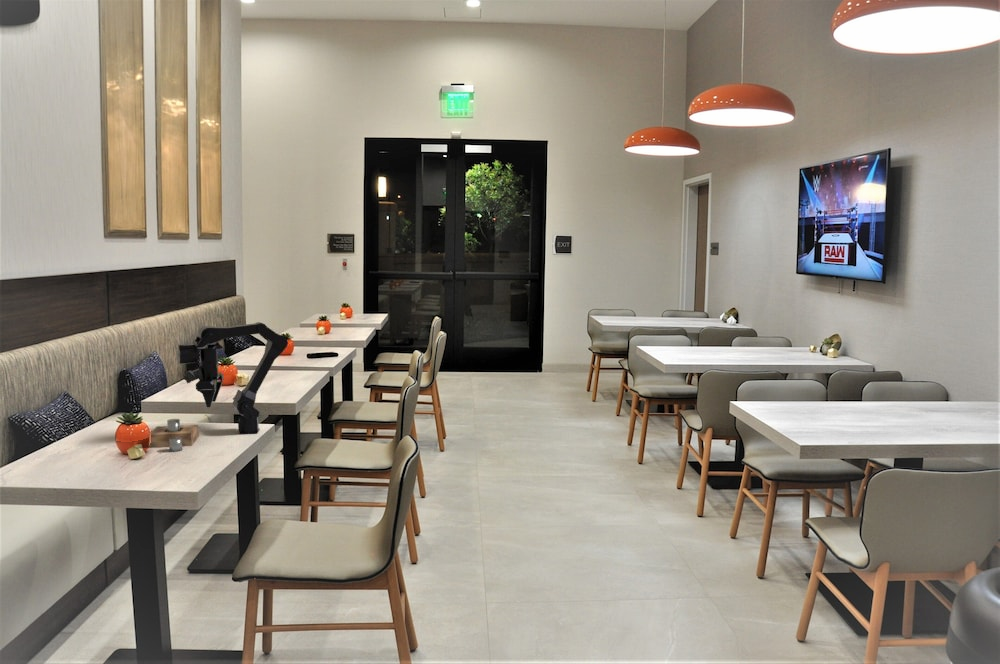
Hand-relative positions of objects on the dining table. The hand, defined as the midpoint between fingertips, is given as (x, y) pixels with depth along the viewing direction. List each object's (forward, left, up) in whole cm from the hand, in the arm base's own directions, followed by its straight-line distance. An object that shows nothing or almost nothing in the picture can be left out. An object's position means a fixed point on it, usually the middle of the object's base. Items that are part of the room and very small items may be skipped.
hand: (211, 404), depth 276 cm
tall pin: (+12, +5, -12) cm, 18 cm away
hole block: (+12, +5, -12) cm, 18 cm away
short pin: (+9, +16, -12) cm, 22 cm away
